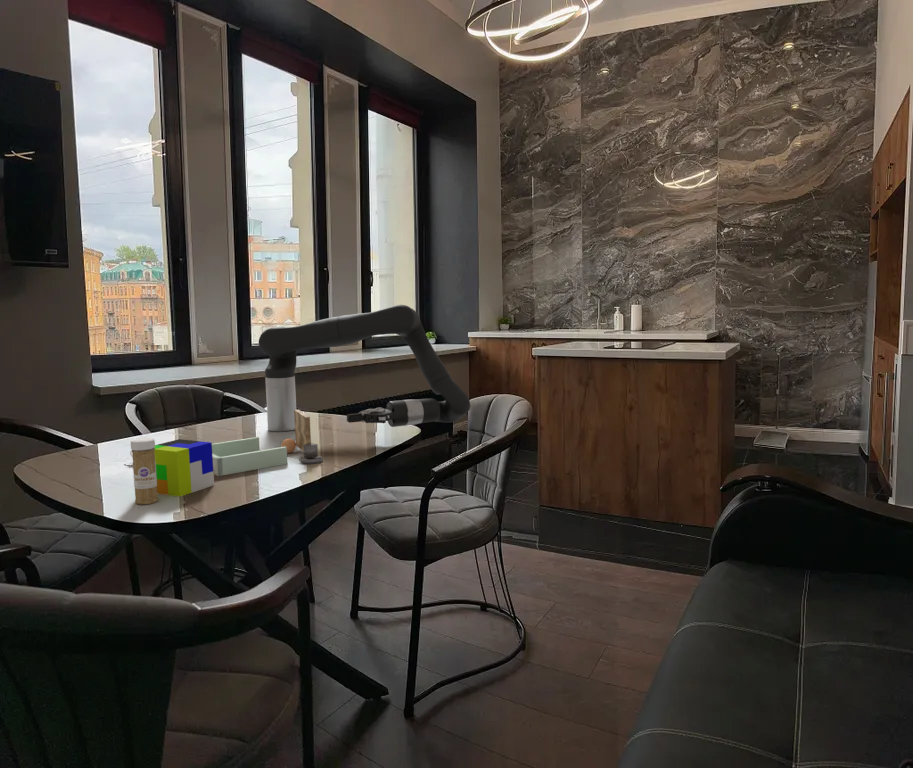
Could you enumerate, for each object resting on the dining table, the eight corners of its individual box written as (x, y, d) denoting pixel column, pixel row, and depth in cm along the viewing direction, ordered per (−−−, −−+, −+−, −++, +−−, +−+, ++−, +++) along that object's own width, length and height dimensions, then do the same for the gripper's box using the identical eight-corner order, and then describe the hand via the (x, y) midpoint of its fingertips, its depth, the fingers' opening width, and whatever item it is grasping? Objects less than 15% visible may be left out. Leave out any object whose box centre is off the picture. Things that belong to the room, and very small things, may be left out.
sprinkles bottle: (137, 506, 138) (132, 442, 136) (133, 501, 142) (128, 438, 140) (161, 502, 141) (156, 439, 139) (156, 497, 144) (152, 436, 143)
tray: (192, 463, 175) (191, 446, 174) (257, 452, 186) (257, 436, 186) (218, 476, 161) (216, 458, 161) (287, 463, 173) (286, 447, 172)
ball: (280, 452, 186) (279, 438, 185) (294, 450, 188) (294, 436, 187) (283, 455, 182) (282, 440, 182) (297, 453, 184) (297, 439, 183)
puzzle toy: (214, 485, 154) (211, 442, 152) (179, 497, 145) (176, 451, 143) (182, 480, 158) (179, 439, 157) (146, 492, 149) (143, 448, 148)
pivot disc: (298, 460, 176) (297, 456, 176) (319, 458, 178) (319, 454, 178) (302, 465, 171) (302, 461, 171) (324, 462, 173) (324, 458, 173)
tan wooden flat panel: (319, 456, 174) (317, 418, 172) (305, 458, 172) (303, 420, 171) (304, 443, 189) (302, 409, 188) (291, 445, 188) (289, 410, 187)
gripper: (396, 397, 202) (340, 402, 195) (412, 402, 190) (353, 408, 183) (397, 421, 203) (341, 428, 196) (413, 428, 191) (354, 435, 184)
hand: (347, 418), depth 189 cm, fingers closed
